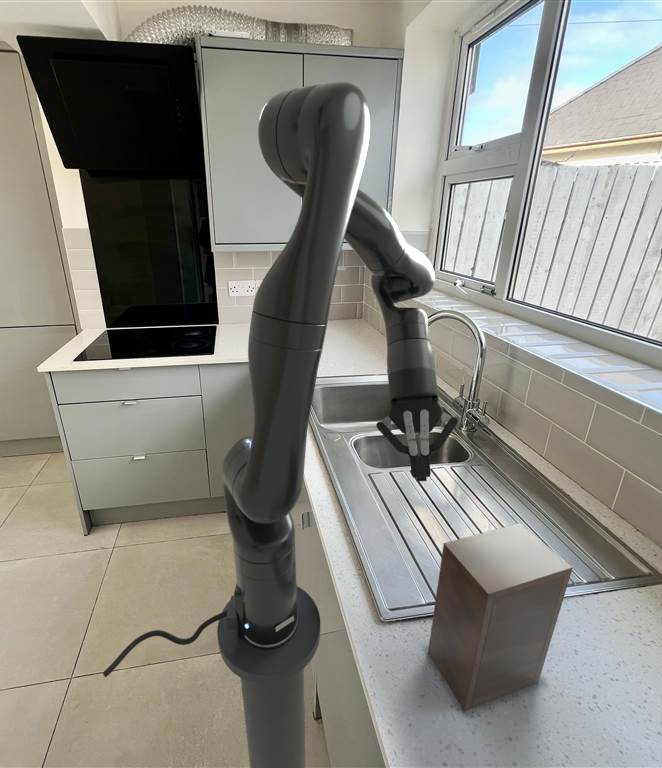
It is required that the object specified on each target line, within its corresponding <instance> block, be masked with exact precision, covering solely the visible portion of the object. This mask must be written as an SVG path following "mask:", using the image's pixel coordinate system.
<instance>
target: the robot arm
mask: <svg viewBox="0 0 662 768" xmlns="http://www.w3.org/2000/svg"><path fill="white" fill-rule="evenodd" d="M370 115H371V114H370V109H369V105H368V101H367V98H366V96H365V94H364V92H363V91H362V89H360V87H359V86H358V85H356V84H354V83H352V82H348V81H332V82H327V83H319V84H318V83H317V84H313V85H307V86H302V87H296V88H290V89H287V90H283V91H280V92H278V93H277V94H274V95H272V96H271V97H270V98H269V99H268V100H267V101H266V103H265V105H264V106H263V108H262V110H261V113H260V116H259V120H258V127H257V130H258V131H257V136H258V144H259V148H260V152H261V154H262V157H263V159H264V162H265V163H266V165H267V167H268V168H269V169H270V171H271V172H272V173H273V174H274V175H275V177H277V178H278V179H279V180H280V181H281V182H282V183H283V184H284V185H285V186H287V187H288V188H289V189H290V190H291V191H293V192H294V193H295V194H296V195H298V196H299V197H300V199H302V203H301V206H300V212H299V215H298V219H297V222H296V225H295V227H294V230H293V232H292V234H291V236H290V238H289V239H288V241H287V242H286V245H285V246H284V248H283V249H282V250H281V252H280V254H279V255H278V256H277V258H276V260H275V261H274V262H273V264H272V265H271V267H270V268H269V270H268V271H267V272H266V274H265V276H264V277H263V279H262V281H261V283H260V285H259V286H258V289H257V291H256V293H255V296H254V299H253V304H252V312H251V319H250V326H249V333H248V343H247V345H248V346H247V363H248V375H249V381H250V382H249V383H250V392H251V399H252V408H253V428H252V429H253V430H252V435H248V436H245V437H242V438H240V439H238V440H237V441H236V442H235V443H233V444H232V446H231V447H230V448H229V450H228V451H227V453H226V454H225V457H224V459H223V462H222V468H221V482H222V488H223V489H222V490H223V497H224V498H223V499H224V505H225V513H226V519H227V520H226V521H227V523H228V528H229V531H230V535H231V538H232V547H233V559H234V567H235V576H236V577H235V578H236V584H235V587H234V591H233V595H231V596H230V599H229V601H230V604H229V607H228V610H226V611H224V612H222V611H221V612H220V613H218V614H216V615H213V616H212V617H210V618H208V619H207V620H205V621H204V622H202V624H200V625H199V626H198V628H197V629H196V630H195V632H194V633H193V634H192V635H191V636H190V637H187V638H181V637H177V635H176V636H175V635H174V634H172V633H169V632H168V631H165V630H161V629H154V630H150V631H147V632H145V633H143V634H140V636H138V637H136V638H135V639H134V640H133V641H132V642H130V643H129V644H128V645H127V646H126V647H125V648H124V649H123V650H122V651H121V653H120V654H118V656H117V658H116V659H115V660H114V661H113V662H112V663H111V664H110V665H109V666H108V667H107V668H106V669H105V670H104V671H103V672H102V675H103V677H104V678H107V677H108V676H109V675H111V673H113V671H114V670H116V669H117V667H118V666H119V665H120V664H121V662H122V661H124V660H125V658H126V657H127V656H128V654H129V653H130V652H131V651H132V650H134V649H135V647H137V646H138V645H139V644H140V643H142V642H143V641H145V640H147V639H150V638H153V637H161V638H163V639H166V640H168V641H170V642H172V643H174V644H175V645H176V644H177V645H179V646H187V645H190V644H193V643H194V642H195V641H196V640H198V638H199V636H200V635H201V633H202V632H203V631H204V630H205V629H206V628H207V627H209V626H210V625H212V624H214V623H215V622H219V620H220V619H222V618H224V617H226V625H227V629H237V631H238V638H239V639H245V640H246V641H247V642H248V643H249V644H250V645H251V646H253V647H255V648H258V649H263V650H271V649H275V648H278V647H281V646H283V645H284V644H286V643H287V642H288V641H289V640H290V639H291V638H292V637H293V635H294V634H295V632H296V629H297V625H298V614H297V592H296V586H297V560H296V559H297V556H296V527H295V521H294V519H293V517H292V513H291V512H292V511H293V509H294V508H295V506H296V505H297V502H298V501H299V498H300V496H301V493H302V489H303V484H304V476H305V464H306V463H305V462H306V453H307V451H306V449H307V439H308V429H309V421H310V415H311V410H312V405H313V399H314V394H315V388H316V383H317V377H318V371H319V367H320V362H321V358H322V354H323V349H324V343H325V339H326V334H327V328H328V323H329V316H330V309H331V304H332V297H333V292H334V289H335V288H334V287H335V283H336V277H337V274H338V273H337V272H338V267H339V263H340V259H341V255H342V249H343V246H344V241H346V243H347V245H349V246H350V248H351V249H352V250H353V252H354V253H355V254H356V256H357V257H358V258H359V260H360V261H361V262H362V264H363V265H364V266H365V268H366V269H367V271H368V272H370V274H371V278H370V287H371V290H372V292H373V295H374V297H375V300H376V302H377V304H378V307H379V309H380V312H381V316H382V320H383V323H384V328H385V339H386V373H387V382H388V395H389V407H388V410H387V416H386V417H384V418H383V419H382V420H381V421H378V422H377V423H376V425H375V426H376V429H377V430H378V431H379V432H380V434H381V435H382V436H383V437H384V438H385V439H386V441H388V443H390V445H392V447H393V448H395V450H396V451H397V452H398V453H399V454H403V455H406V456H408V458H409V463H410V465H409V466H410V474H411V477H412V478H414V479H415V478H416V482H427V481H428V480H427V479H428V478H430V477H431V473H432V472H431V461H430V456H431V454H434V453H436V452H439V451H440V450H441V448H442V447H443V446H444V444H445V443H446V441H447V440H448V438H449V437H450V436H451V434H452V432H453V431H454V429H455V428H456V426H457V425H458V423H459V419H458V418H457V417H456V416H451V415H449V414H448V413H447V412H444V407H443V405H441V403H440V399H439V393H438V392H439V391H438V383H437V374H436V365H435V356H434V352H433V347H432V344H431V334H430V327H429V318H428V315H427V313H426V312H425V311H424V310H423V309H422V308H418V307H400V306H397V304H399V303H402V302H406V301H410V300H414V299H418V298H422V297H424V296H426V295H428V294H429V293H431V291H432V289H433V288H434V285H435V283H436V271H435V269H434V266H433V264H432V262H431V261H430V260H429V258H428V257H427V256H426V255H425V254H424V253H423V252H421V251H420V250H419V249H417V248H416V247H415V246H414V245H413V244H411V243H410V242H409V241H407V240H406V239H405V237H404V235H403V233H402V232H401V230H400V228H399V226H398V224H397V222H396V220H395V219H394V218H393V216H392V215H391V213H390V212H388V211H387V210H386V209H385V208H384V207H383V206H382V205H381V204H380V203H379V202H377V201H376V200H375V199H373V198H372V197H371V196H369V194H367V193H365V192H364V191H363V190H362V189H360V185H361V181H362V177H363V173H364V170H365V166H366V163H367V162H366V161H367V157H368V151H369V146H370V137H371V116H370ZM440 419H441V421H440V427H441V428H442V430H441V432H440V433H439V435H438V436H437V437H436V439H435V441H434V442H433V443H431V444H430V433H431V432H433V430H434V428H435V427H436V425H437V423H438V422H439V420H440ZM392 423H393V424H394V425H395V426H396V427H397V429H398V430H399V431H400V432H401V433H402V434H404V435H405V437H406V443H407V445H406V444H405V445H404V444H403V442H401V440H399V438H398V437H397V436H396V435H395V434H394V432H392V431H393V424H392ZM416 434H418V435H419V451H418V446H417V439H416ZM418 453H419V454H418Z"/></svg>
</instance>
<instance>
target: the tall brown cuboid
mask: <svg viewBox="0 0 662 768" xmlns="http://www.w3.org/2000/svg"><path fill="white" fill-rule="evenodd" d="M572 572H573V566H571V565H570V564H569V563H568V562H567V561H566V560H564V559H563V558H562V557H561V556H560V555H559V554H557V553H556V552H555V551H554V550H553V549H551V548H550V547H549V546H548V545H547V544H545V543H544V542H543V541H542V540H541V539H539V537H537V536H535V534H534V533H533V532H531V531H530V530H529V529H528V528H526V527H525V526H524V525H523V524H521V522H518V523H515V524H514V523H513V524H511V525H506V526H504V527H499V528H496V529H492V530H488V531H485V532H480V533H477V534H473V535H470V536H466V537H462V538H459V539H454V540H451V541H448V542H444V543H443V547H442V554H441V560H440V567H439V573H438V575H439V576H438V579H437V580H438V581H437V587H436V593H435V594H436V595H435V602H434V608H433V616H432V623H431V629H430V635H429V643H428V650H427V653H428V655H429V657H430V658H431V660H432V661H433V663H434V665H435V666H436V668H437V670H438V671H439V673H440V674H441V676H442V678H443V679H444V681H445V682H446V684H447V686H448V687H449V689H450V691H451V692H452V694H453V696H454V697H455V699H456V700H457V702H458V704H459V705H460V707H461V708H462V710H463V712H466V711H468V710H472V709H473V708H476V707H479V706H481V705H484V704H485V703H488V702H492V701H494V700H496V699H498V698H502V697H503V696H506V695H509V694H511V693H514V692H516V691H518V690H520V689H523V688H525V687H526V688H527V687H528V686H530V685H533V684H536V683H538V682H539V681H540V678H541V674H542V671H543V668H544V665H545V662H546V658H547V655H548V652H549V648H550V645H551V642H552V638H553V635H554V632H555V628H556V625H557V621H558V618H559V616H560V611H561V608H562V605H563V602H564V599H565V596H566V592H567V589H568V585H569V581H570V578H571V575H572Z"/></svg>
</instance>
